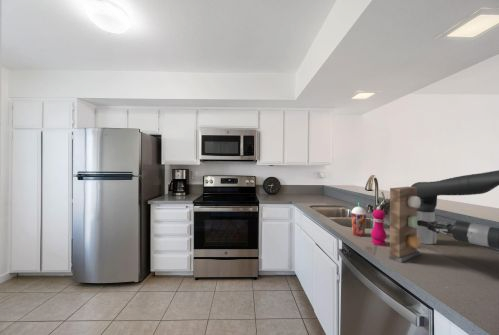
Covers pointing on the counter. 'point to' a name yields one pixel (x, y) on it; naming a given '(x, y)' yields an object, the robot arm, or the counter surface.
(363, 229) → the smoothie
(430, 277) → the counter surface
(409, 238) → the orange button
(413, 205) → the cream button
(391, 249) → the walnut button panel
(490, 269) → the counter surface
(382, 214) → the pepper mill
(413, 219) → the sage button
